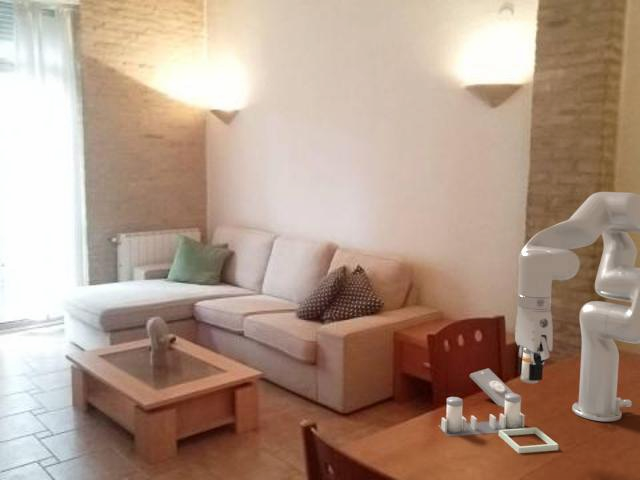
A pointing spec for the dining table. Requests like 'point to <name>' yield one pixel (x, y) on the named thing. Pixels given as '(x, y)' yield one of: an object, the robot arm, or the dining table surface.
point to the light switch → (491, 386)
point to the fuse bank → (460, 427)
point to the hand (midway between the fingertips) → (530, 376)
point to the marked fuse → (527, 366)
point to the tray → (525, 449)
